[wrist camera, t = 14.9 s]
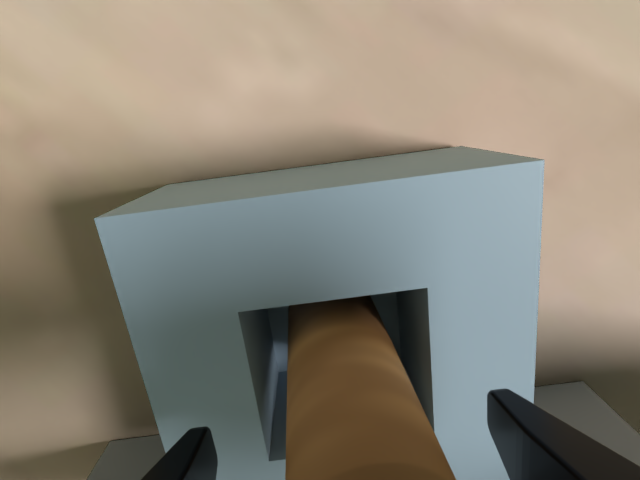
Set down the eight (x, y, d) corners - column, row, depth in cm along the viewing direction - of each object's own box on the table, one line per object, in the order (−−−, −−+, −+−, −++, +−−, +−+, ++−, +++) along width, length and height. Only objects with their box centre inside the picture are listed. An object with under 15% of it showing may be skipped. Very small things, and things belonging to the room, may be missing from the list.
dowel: (372, 268, 14) (478, 454, 6) (372, 345, 14) (464, 595, 7) (285, 273, 13) (278, 471, 6) (290, 351, 14) (289, 614, 7)
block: (461, 146, 13) (544, 159, 9) (465, 393, 16) (529, 502, 12) (167, 184, 13) (93, 218, 9) (225, 423, 16) (193, 544, 12)
